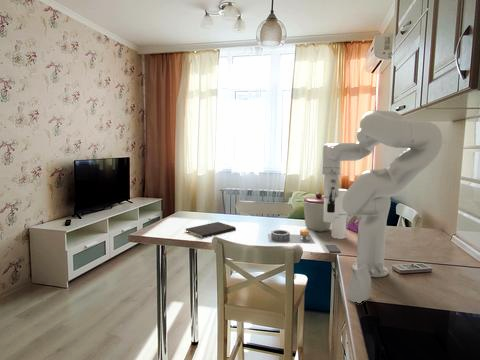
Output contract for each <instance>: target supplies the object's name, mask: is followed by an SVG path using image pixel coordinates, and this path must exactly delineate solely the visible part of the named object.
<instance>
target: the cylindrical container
mask: <svg viewBox="0 0 480 360" xmlns="http://www.w3.org/2000/svg"><path fill="white" fill-rule="evenodd" d="M347 190H348V189H346V188H339V196H338V197H336V202H335V222H331V235H330V236H332V237H331V238H333V239H336V238H337V239H339V240H342V239H344V240H345V239H346V237H347V236H346V235H347V228H346V219H347V213H346V212H345V211H344V209H343V206H342V199H343V196H344V194H345V192H346V191H347Z"/></svg>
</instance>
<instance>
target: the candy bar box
mask: <svg viewBox="0 0 480 360" xmlns="http://www.w3.org/2000/svg"><path fill="white" fill-rule="evenodd" d="M361 216H362V215H357V216H354V215H350V214H348V213H347V219H346V230H350V231H353V232H355V233H357V234H358V225H359V221H360V218H361Z"/></svg>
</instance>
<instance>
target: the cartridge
mask: <svg viewBox="0 0 480 360" xmlns="http://www.w3.org/2000/svg"><path fill="white" fill-rule="evenodd" d="M323 197H324V214H323V221H324V222H331V223H332V222H335V212H334V213H328V212H327V203H328V197H327V196H326V195H325V194H323ZM330 197H332V196H330ZM330 199H331V198H330ZM335 202H336V196H335Z"/></svg>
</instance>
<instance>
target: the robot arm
mask: <svg viewBox="0 0 480 360" xmlns="http://www.w3.org/2000/svg"><path fill="white" fill-rule="evenodd" d="M356 140H357V142H336V143H325V144H324V145H323V147H322V148H323V149H322V150H323V151H322V169H321V170H322V171H321V172H322V173H321V175H324V176H323V190H322V191H323V195H326V196H327V197H328V203H327V212H328V213H334V212H335V196H336V197H338V196H339V189H340V184H339V182H340V180H339V176H340V174H341V162H347V161H348V162H350V161H351V162H352V161H353V162H355V161H359V160H362V159H365V157H367V156H369V155H371V154H372V153H373V151H374V149H375V147H376V146H378V145H379V144H383V145H385V146H387V147H390V148H398V149H405V148H406V150H404V151H403V152H402V153H400V154H399V155H397V157H395V158H394V159H393V160H392V162H391V163H390V164H389V165H388V166H387V167H384V168H382V169H381V168H380V169H375V168H374V169H368V170H365V171H363V172H362V173H361V174H359V175H358V176H356V177H357V178H356V179H354V181H353V182H352V183H351V185H350V186H349V187H348V189H347V191H346V192H345V194H344V196H343V199H342V206H343V209H344V211H345V212H346V213H348V214H350V215H354V216H357V215H362V216H361V218H360V221H359V225H358V233H357V245H356V246H357V248H356V262H354V263H353V264H352V265H351V268H352V271H354V270H356V269H358V268H360V267H362V266H365V265H367V269H368V272H369V274H370V277H371V278H383V277H385V276H388V274H389V270H388V269H387V268H388V267H385V266H384V265H385V249H386V234H387V220H388V216H389V213H390V209H391V202H392V201H391V197H394V196H397V195H399V194H401V193H402V192H403V190H405V189H406V188H407V187H408V186H409V185H410V183H411V182H413V180H415V179H416V178H417V177H418V176H419V174H420V173H422V172H423V171H424V170H425V169H427V167H429V166H430V165H431V163H432V162H434V160H436V158H437V157H438V155H439V153H440V151H441V149H442V146H443V133H442V131H441V129H440V127H439V126H438V125H437V124H435V123H434V122H431V121H426V120H417V119H416V120H413V119H412V120H411V119H404V117H403V116H402V114H400V113H398V112H396V111H392V110H374V109H373V110H370V111H367V112H366V113H365V114H364V115H363V116H362V118H361V119H360V121H359V129H358V130H357V132H356ZM330 196H332V197H330ZM330 198H331V199H330Z"/></svg>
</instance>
